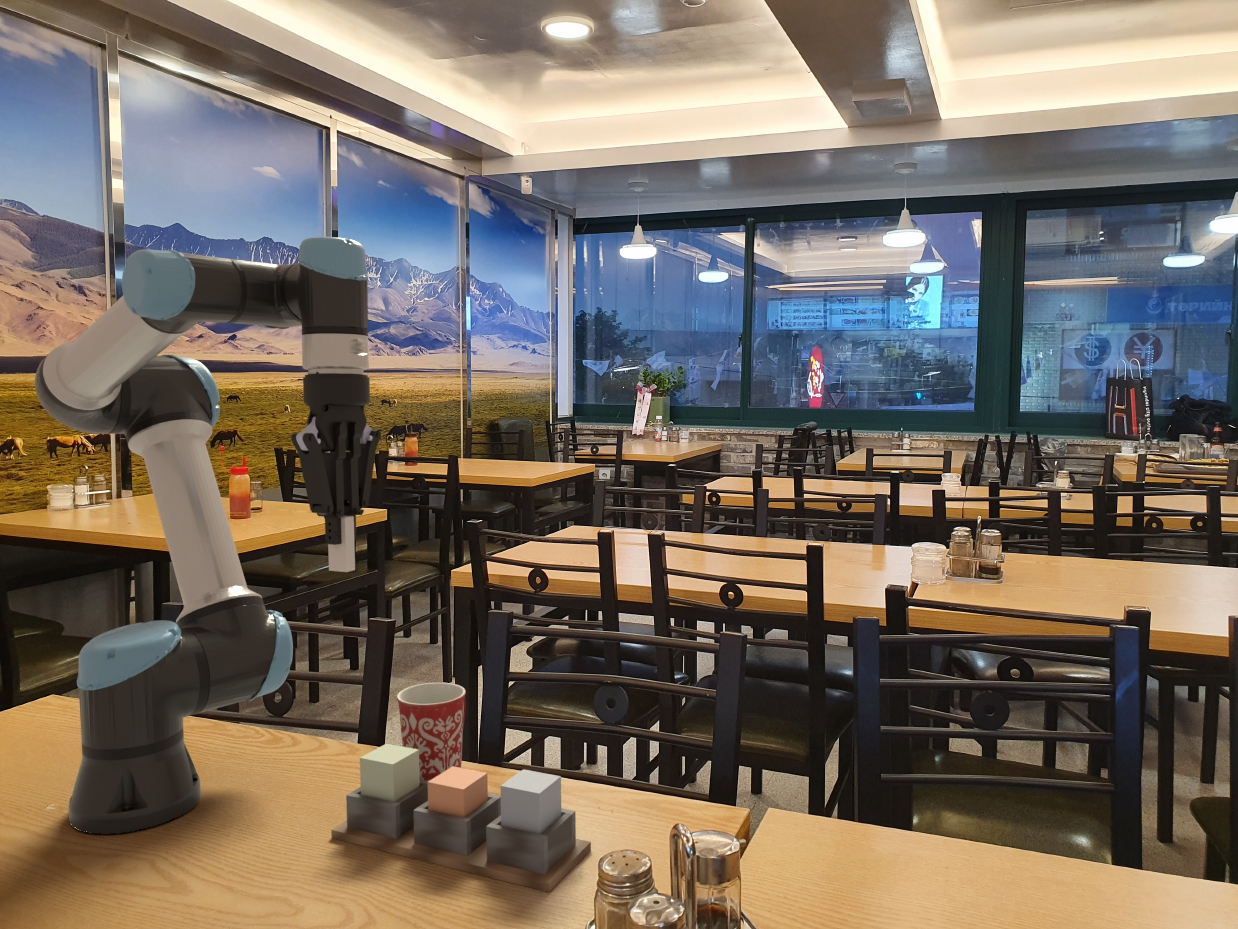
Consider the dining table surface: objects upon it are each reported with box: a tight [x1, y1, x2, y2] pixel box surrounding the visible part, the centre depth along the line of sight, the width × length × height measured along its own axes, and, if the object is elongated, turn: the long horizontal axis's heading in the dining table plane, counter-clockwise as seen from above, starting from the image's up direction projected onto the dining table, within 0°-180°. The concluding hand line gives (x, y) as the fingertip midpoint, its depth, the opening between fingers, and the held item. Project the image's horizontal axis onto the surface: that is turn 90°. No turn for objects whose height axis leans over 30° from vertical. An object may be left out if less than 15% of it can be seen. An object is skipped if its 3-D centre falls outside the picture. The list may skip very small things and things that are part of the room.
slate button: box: [499, 769, 562, 834], centre depth 103 cm, size 5×5×6 cm
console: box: [330, 779, 592, 893], centre depth 108 cm, size 30×10×5 cm, turn 65°
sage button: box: [359, 743, 420, 802], centre depth 112 cm, size 5×5×6 cm
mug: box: [396, 682, 467, 781], centre depth 124 cm, size 13×9×14 cm
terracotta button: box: [428, 766, 489, 818], centre depth 107 cm, size 5×5×6 cm
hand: (342, 570), depth 109 cm, fingers closed
